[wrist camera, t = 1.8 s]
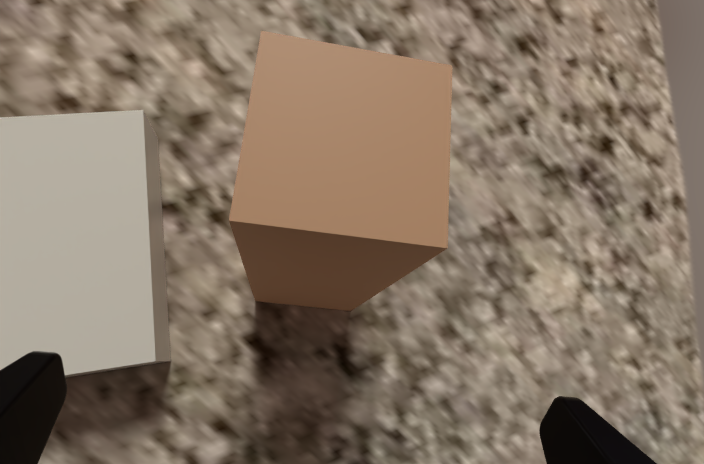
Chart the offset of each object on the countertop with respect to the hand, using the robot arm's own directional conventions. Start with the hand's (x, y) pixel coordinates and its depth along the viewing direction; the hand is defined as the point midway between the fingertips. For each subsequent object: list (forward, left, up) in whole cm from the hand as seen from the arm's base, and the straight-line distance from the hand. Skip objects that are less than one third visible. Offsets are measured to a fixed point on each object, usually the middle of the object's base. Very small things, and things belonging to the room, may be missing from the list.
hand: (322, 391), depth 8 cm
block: (+4, +2, -11) cm, 13 cm away
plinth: (-2, +12, -11) cm, 16 cm away
